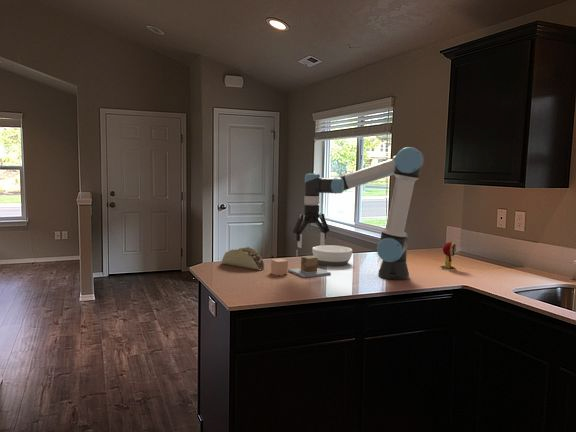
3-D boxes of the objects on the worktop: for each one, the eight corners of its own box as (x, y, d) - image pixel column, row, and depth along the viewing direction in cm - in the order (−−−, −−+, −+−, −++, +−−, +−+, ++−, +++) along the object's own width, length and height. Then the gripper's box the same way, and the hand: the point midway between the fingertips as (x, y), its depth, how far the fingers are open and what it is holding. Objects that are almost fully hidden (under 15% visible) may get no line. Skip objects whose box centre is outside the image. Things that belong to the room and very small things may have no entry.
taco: (257, 272, 252) (257, 252, 251) (216, 264, 267) (217, 246, 266) (268, 269, 260) (268, 250, 259) (228, 262, 275) (228, 244, 274)
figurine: (455, 271, 269) (457, 244, 267) (436, 269, 274) (438, 242, 272) (458, 268, 276) (460, 242, 274) (440, 266, 281) (442, 240, 279)
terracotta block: (287, 274, 248) (287, 261, 247) (276, 275, 245) (277, 261, 244) (281, 272, 253) (281, 258, 252) (271, 273, 250) (271, 259, 249)
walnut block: (317, 271, 252) (317, 257, 251) (307, 272, 249) (307, 258, 248) (310, 269, 257) (311, 255, 256) (300, 269, 254) (301, 256, 253)
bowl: (306, 264, 274) (306, 249, 273) (318, 257, 295) (319, 244, 294) (346, 269, 266) (347, 253, 265) (355, 261, 287) (356, 247, 286)
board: (330, 275, 250) (330, 272, 250) (303, 277, 242) (303, 275, 242) (314, 269, 263) (314, 266, 263) (288, 271, 255) (288, 269, 255)
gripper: (328, 203, 258) (327, 243, 260) (286, 204, 246) (285, 247, 248) (336, 204, 252) (335, 245, 254) (294, 205, 239) (293, 249, 242)
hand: (311, 246), depth 251 cm, fingers open, 13 cm apart
